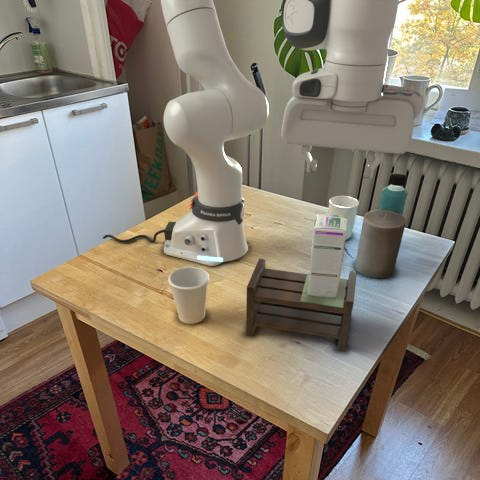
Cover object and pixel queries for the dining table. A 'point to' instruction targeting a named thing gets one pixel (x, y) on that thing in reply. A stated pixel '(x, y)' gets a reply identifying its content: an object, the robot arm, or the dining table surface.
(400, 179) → the beverage bottle
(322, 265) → the syrup box
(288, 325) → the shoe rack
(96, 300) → the dining table surface
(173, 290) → the dixie cup
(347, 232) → the white cup
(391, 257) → the pillar candle
